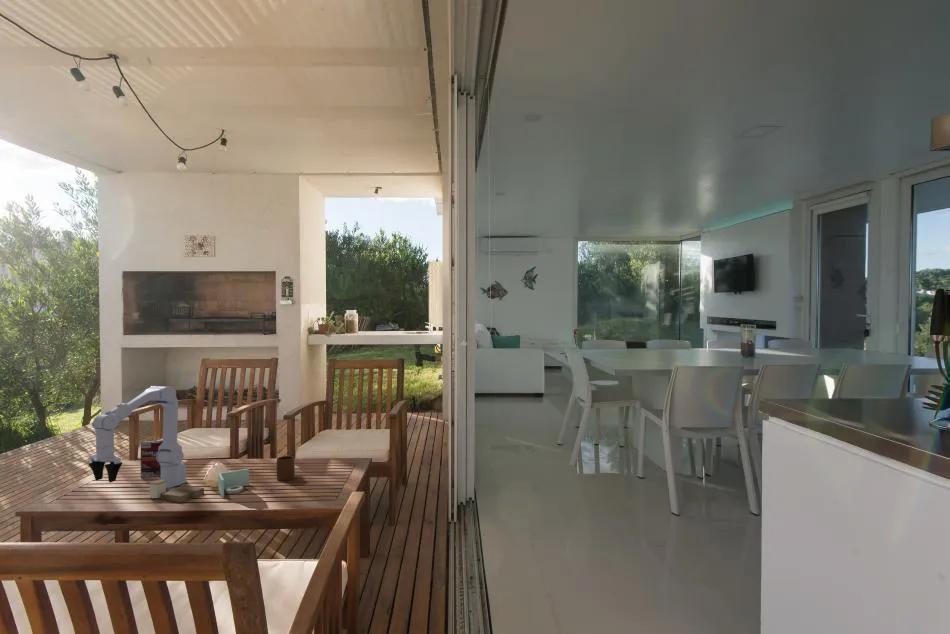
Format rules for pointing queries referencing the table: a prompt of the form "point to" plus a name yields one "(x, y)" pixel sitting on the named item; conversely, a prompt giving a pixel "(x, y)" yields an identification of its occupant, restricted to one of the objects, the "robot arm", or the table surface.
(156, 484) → the beige rectangular block
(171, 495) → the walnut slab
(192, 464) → the table surface
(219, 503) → the table surface
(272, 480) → the table surface
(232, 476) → the l-shaped corner panel
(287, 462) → the mug
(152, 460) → the supplement box
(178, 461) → the robot arm
